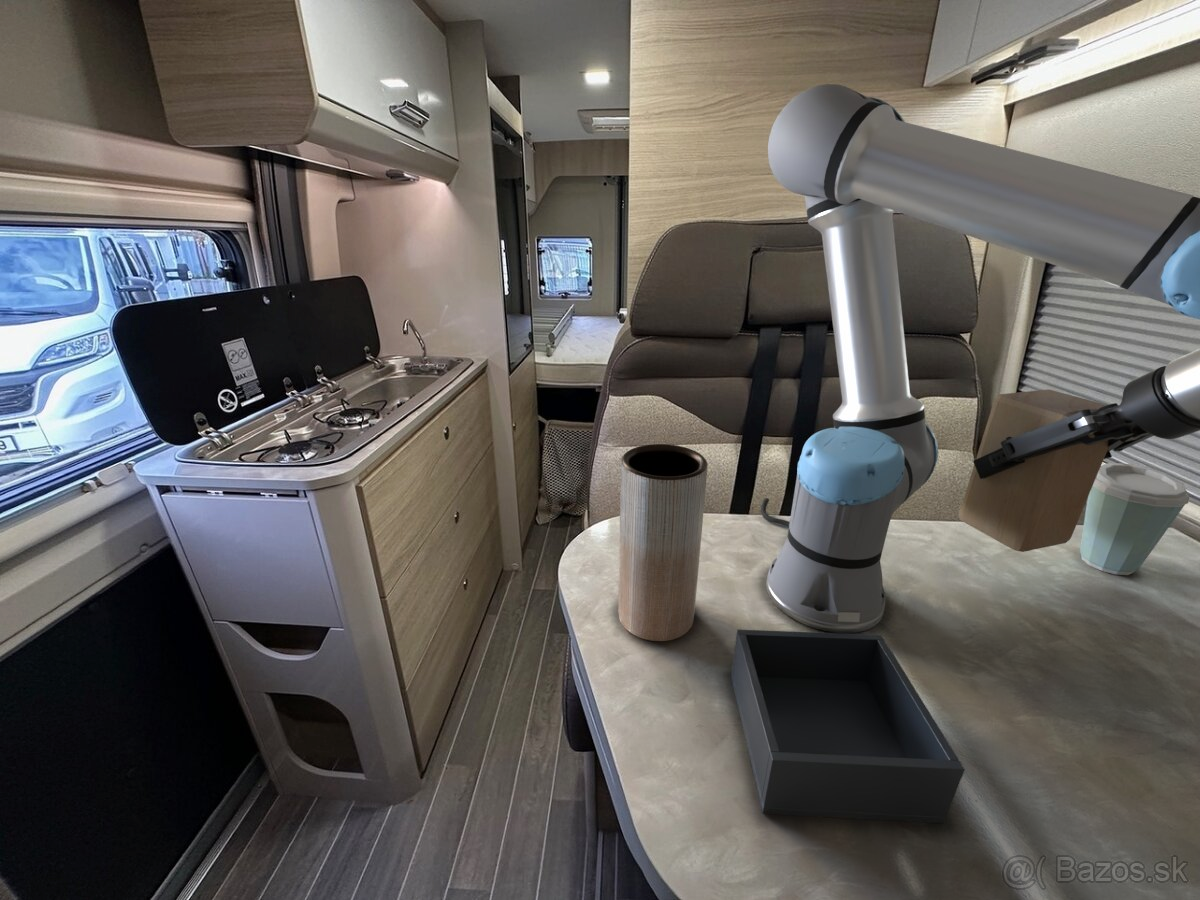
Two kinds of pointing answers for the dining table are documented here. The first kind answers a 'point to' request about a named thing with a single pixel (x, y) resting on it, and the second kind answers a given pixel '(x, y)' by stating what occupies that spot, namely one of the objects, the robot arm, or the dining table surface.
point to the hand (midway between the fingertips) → (1012, 466)
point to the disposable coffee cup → (1128, 516)
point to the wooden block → (1032, 475)
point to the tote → (839, 729)
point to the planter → (660, 539)
